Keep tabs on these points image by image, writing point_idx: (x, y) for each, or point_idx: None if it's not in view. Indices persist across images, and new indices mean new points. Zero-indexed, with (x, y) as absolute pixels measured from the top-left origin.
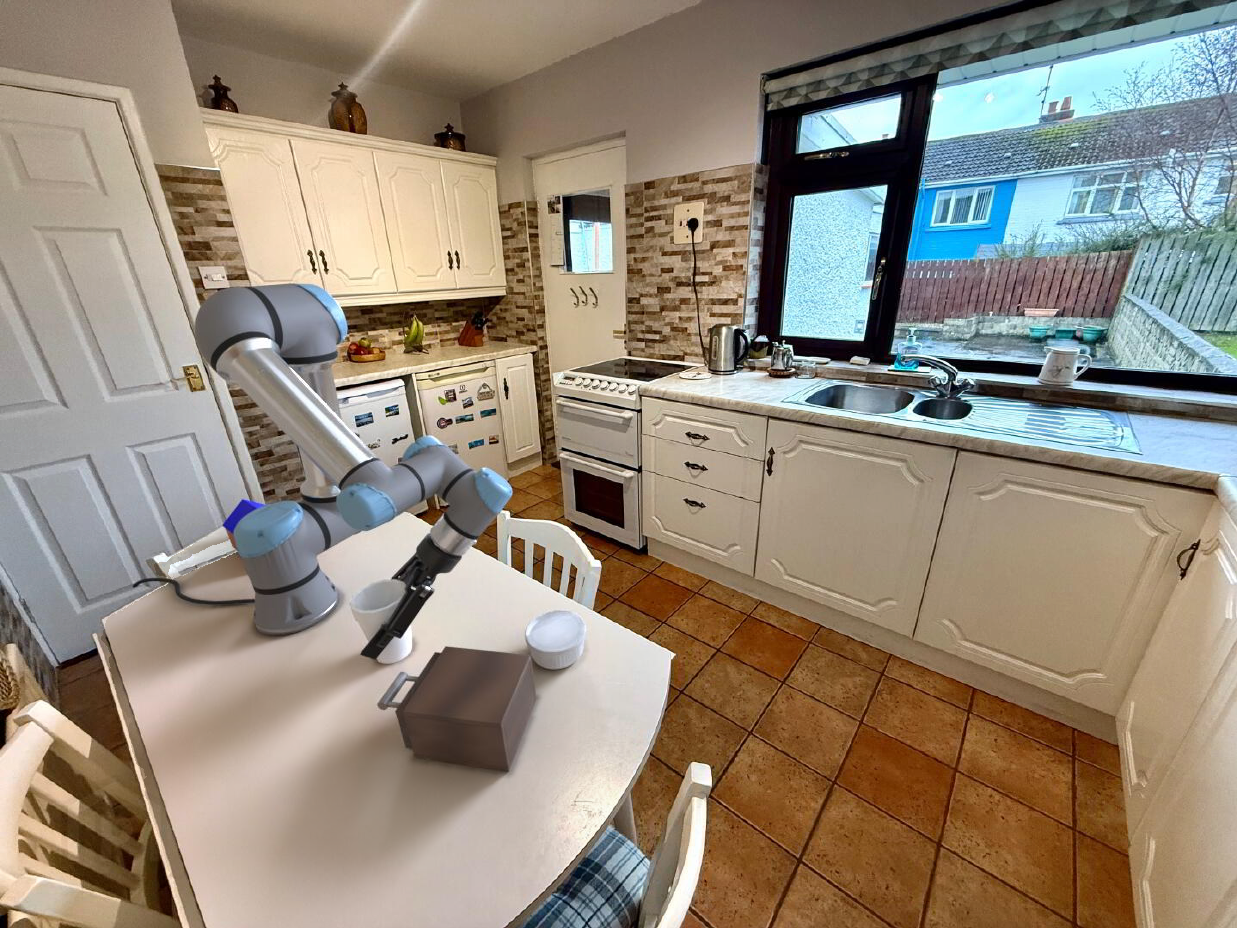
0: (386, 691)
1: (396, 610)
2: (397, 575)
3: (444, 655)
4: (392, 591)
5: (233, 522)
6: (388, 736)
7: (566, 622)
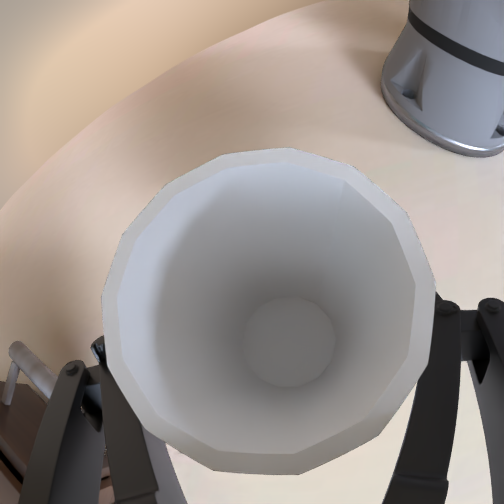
0: (26, 358)
1: (114, 410)
2: (491, 342)
3: (14, 497)
4: (385, 341)
5: None
6: (62, 356)
7: None
